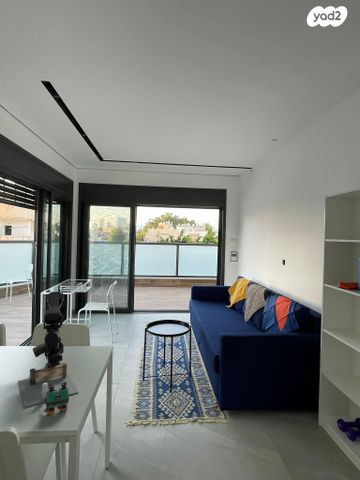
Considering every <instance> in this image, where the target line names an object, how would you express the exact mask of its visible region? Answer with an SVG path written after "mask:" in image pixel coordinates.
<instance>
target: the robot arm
mask: <svg viewBox="0 0 360 480" xmlns="http://www.w3.org/2000/svg"><path fill="white" fill-rule="evenodd" d="M46 294H47V295H46V301H47V303H48V307H49V308H48V309H47V310H46V311H45V314H44V316H43V328H42V329H43V330H46V331H45V335H44V342H43V343H40V344H39V345H37V346H35V347H33V348H32V352H33V354H34V357H35V358H39V356H41V355H43V354H44V357H45V358H46V361H47V362H46V363H45V365H46V368H49V367H53V366H58V365H62V364H61V362H62V361H63V354H64V351H65V350H64V347H65V345H64V344H63V342H62V338H61V337H60V328H61V329H62V326H63V324H64V323H63V322H64V320H63V319H64V316H63V314H62V313H61V309H60V308H61V307H62V305H63V302H64V295H65V294H64V293H63V292H61V291H51V292H49V293H46Z"/></svg>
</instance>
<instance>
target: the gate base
mask: <svg viewBox="0 0 360 480" xmlns="http://www.w3.org/2000/svg"><path fill="white" fill-rule="evenodd" d="M63 382H67V385H66V387H68V394H69V397H70V396H74V395H77V394H79V391H78V389H77V386H76V385H75V383H74V382H73V380H72V378H71V377H70V375H69V373H68V372H67V376H66V377H63V376H60V377H56V378H52V379H48V380H44V381H39V382H36V376H35V384H33V385H30V377H29V378H24V379H20V380H18V385H19V391H20V395H21V396H20V397H21V398H22V399H21V400H22V404H23V408H24V409H26V408H30V407H34V406H38V405H40V404H44V403H45V404H46V401H45V398H46V397H47V391H48V390H49V385H54V386H55V387H54V389H56V390H57V392H58V391H59V389H60V388H62V386H61V384H62V383H63Z"/></svg>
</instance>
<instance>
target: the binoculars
mask: <svg viewBox="0 0 360 480" xmlns="http://www.w3.org/2000/svg"><path fill="white" fill-rule="evenodd" d="M66 385H67V382H63V383H62V384H61V386H62V388H60V389H59V391H58V392H57V390H56V389H54V387H55V386H54V385H49V390H48V391H47V397H46V398H45V401H46V402H45V408H47V413H46V414H47V415H54V414H55V412H56V409H55V408H57V407H59V411H60V412H66V411H68V404H69V402H70V396H69V394H68V387H66Z"/></svg>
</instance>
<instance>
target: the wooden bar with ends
mask: <svg viewBox="0 0 360 480" xmlns="http://www.w3.org/2000/svg"><path fill="white" fill-rule="evenodd" d="M67 367H68V364H67V362H62V364H61V365H58V366H53V367H49V368H47V367H44V368H40V369H36V368H30V369H29V378H30V385H33V384H35V377H36V382H39V381H44V380H48V379H52V378H56V377H60V376H63V377H66V376H67V373H68V370H67Z"/></svg>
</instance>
